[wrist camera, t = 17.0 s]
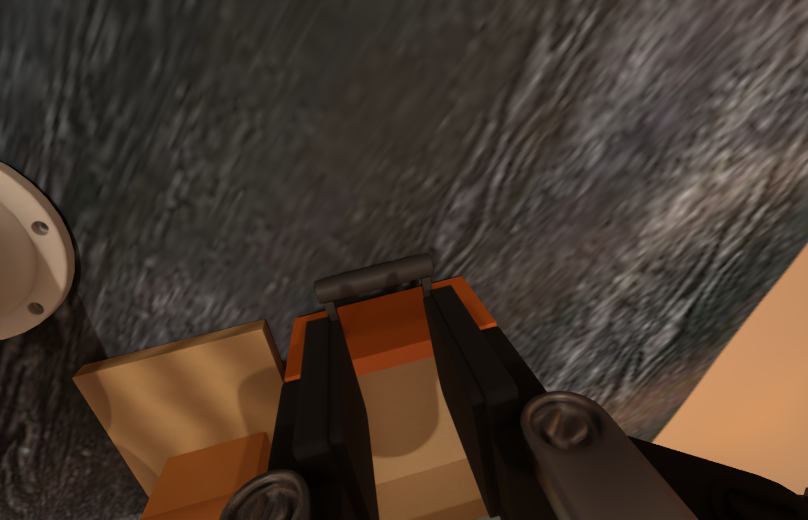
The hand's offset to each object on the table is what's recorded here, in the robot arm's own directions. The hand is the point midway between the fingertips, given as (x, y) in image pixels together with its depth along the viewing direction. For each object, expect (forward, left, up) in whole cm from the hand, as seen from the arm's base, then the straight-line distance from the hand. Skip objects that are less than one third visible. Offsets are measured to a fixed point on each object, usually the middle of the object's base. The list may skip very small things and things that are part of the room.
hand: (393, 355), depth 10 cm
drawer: (0, -14, -18) cm, 23 cm away
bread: (-15, -19, -18) cm, 30 cm away
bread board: (-15, -18, -19) cm, 31 cm away
